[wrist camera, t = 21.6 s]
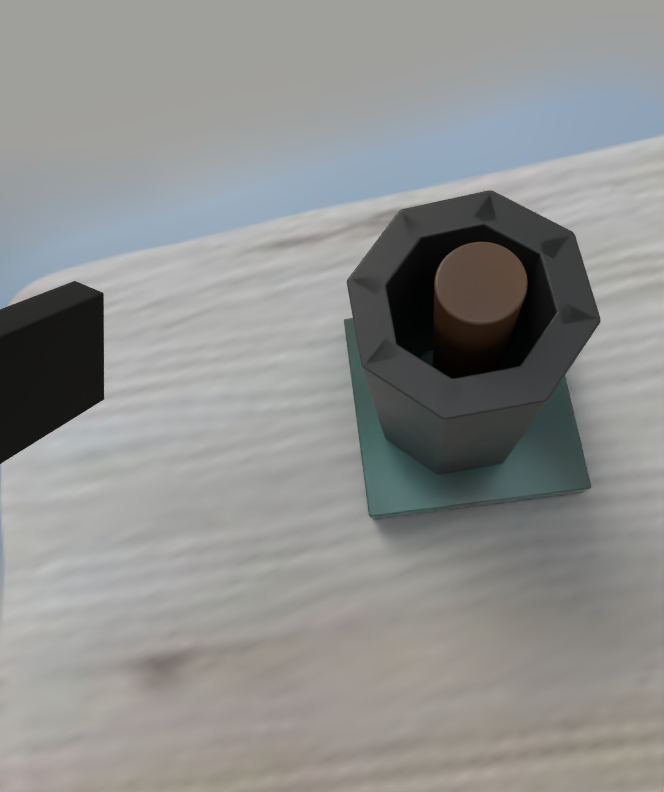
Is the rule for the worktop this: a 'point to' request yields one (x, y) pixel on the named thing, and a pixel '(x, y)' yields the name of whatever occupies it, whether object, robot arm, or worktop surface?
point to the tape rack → (458, 357)
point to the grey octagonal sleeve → (413, 330)
